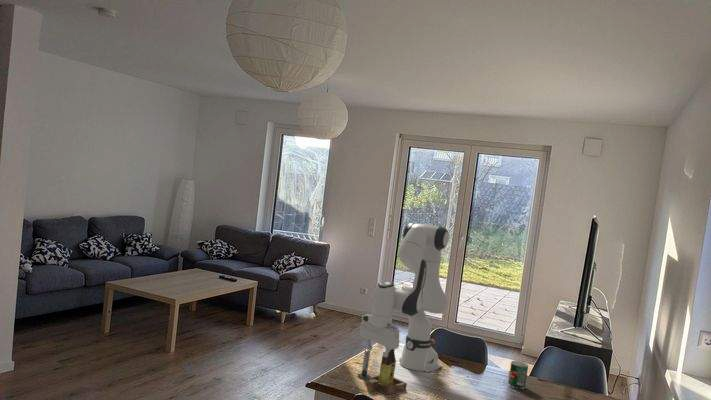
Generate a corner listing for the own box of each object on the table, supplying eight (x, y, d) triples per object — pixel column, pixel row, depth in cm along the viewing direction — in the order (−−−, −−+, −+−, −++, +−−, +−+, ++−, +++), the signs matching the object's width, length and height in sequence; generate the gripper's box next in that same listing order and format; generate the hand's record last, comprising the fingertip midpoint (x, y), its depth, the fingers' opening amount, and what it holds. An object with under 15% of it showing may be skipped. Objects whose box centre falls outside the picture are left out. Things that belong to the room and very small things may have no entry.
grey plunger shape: (364, 373, 257) (367, 347, 256) (373, 378, 252) (377, 351, 252) (354, 375, 253) (358, 349, 252) (363, 380, 248) (367, 353, 248)
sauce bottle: (391, 391, 239) (397, 345, 239) (376, 388, 241) (383, 342, 240) (393, 386, 246) (399, 341, 245) (378, 383, 247) (385, 338, 246)
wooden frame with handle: (385, 380, 252) (386, 371, 252) (405, 390, 243) (407, 381, 243) (358, 385, 241) (360, 376, 241) (379, 396, 232) (380, 386, 232)
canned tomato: (504, 384, 269) (507, 361, 269) (514, 382, 274) (517, 360, 274) (518, 390, 263) (521, 367, 263) (528, 388, 268) (531, 365, 267)
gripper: (404, 326, 231) (400, 360, 232) (369, 313, 246) (365, 344, 247) (394, 328, 227) (390, 362, 227) (359, 314, 241) (355, 346, 242)
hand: (377, 353), depth 237 cm, fingers open, 8 cm apart
